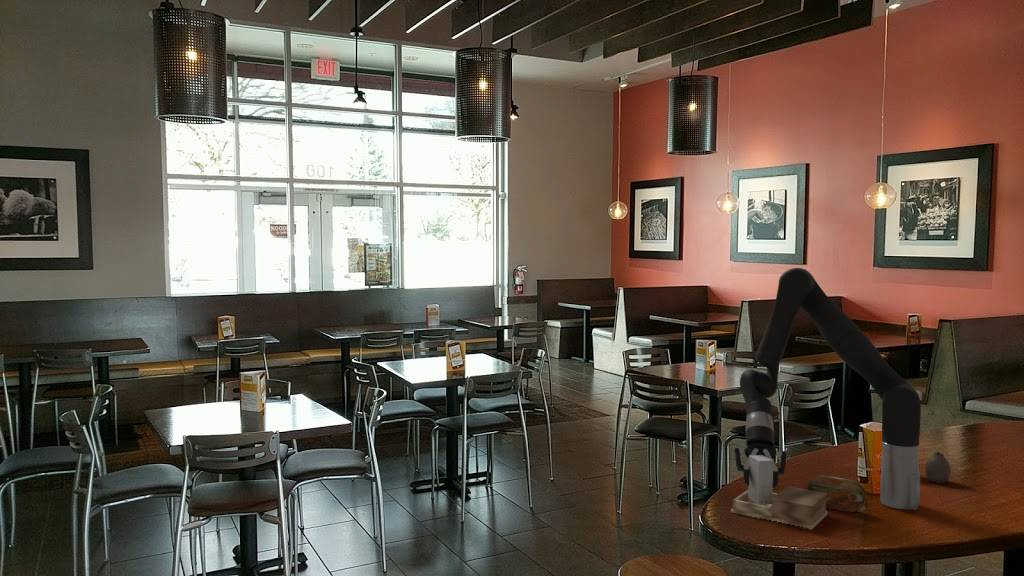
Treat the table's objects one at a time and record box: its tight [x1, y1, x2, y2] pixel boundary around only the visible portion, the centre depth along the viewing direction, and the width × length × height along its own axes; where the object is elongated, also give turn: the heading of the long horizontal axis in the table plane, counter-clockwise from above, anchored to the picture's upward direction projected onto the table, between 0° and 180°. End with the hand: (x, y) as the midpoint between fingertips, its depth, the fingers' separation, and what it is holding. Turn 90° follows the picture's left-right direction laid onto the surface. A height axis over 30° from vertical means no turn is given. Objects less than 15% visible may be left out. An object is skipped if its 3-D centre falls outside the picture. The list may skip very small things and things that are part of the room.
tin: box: [807, 474, 867, 513], centre depth 208 cm, size 15×3×8 cm, turn 49°
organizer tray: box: [730, 485, 828, 530], centre depth 203 cm, size 21×14×6 cm, turn 52°
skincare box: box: [747, 455, 774, 505], centre depth 206 cm, size 6×4×12 cm
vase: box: [924, 451, 952, 484], centre depth 231 cm, size 7×7×9 cm
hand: (761, 485), depth 205 cm, fingers closed on skincare box, 6 cm apart
